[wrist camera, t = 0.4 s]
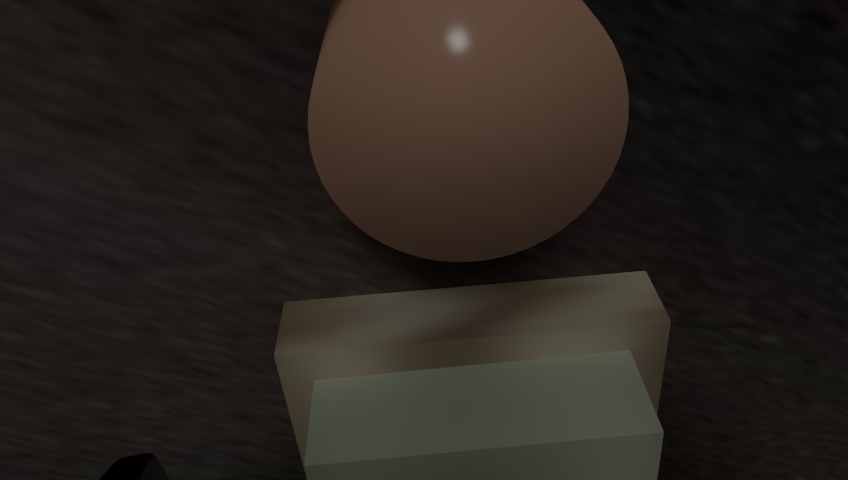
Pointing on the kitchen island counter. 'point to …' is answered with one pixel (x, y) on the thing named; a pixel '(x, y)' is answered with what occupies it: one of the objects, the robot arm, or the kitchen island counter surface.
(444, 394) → the top slab
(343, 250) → the kitchen island counter surface
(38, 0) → the kitchen island counter surface
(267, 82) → the kitchen island counter surface
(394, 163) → the tan short cylinder
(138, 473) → the robot arm
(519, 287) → the base slab
